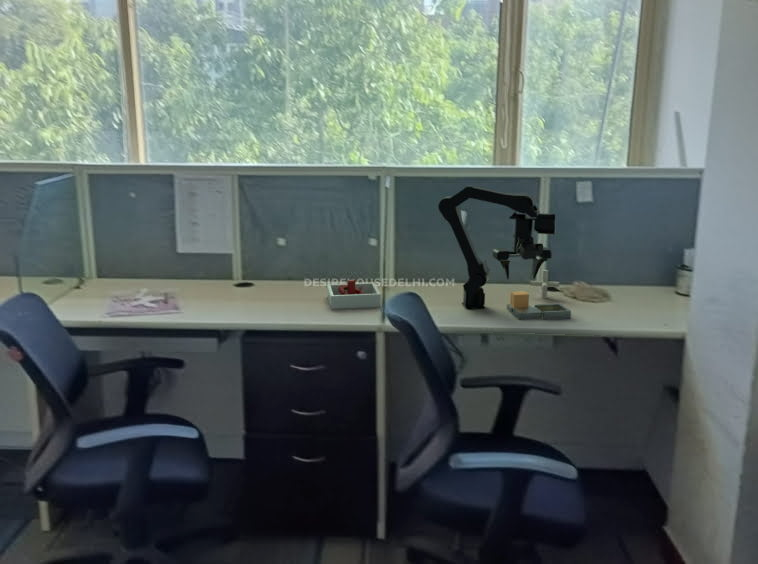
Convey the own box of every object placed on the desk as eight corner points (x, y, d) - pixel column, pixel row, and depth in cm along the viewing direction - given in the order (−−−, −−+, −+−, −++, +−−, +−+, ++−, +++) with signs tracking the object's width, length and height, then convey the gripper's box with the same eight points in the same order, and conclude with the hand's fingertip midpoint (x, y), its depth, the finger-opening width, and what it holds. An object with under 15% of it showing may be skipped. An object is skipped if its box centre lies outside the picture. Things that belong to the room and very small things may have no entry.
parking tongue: (511, 312, 244) (511, 308, 244) (506, 308, 249) (506, 304, 249) (531, 311, 245) (531, 307, 245) (526, 307, 250) (526, 303, 250)
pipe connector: (558, 302, 257) (560, 274, 254) (529, 300, 259) (531, 273, 256) (557, 294, 266) (559, 267, 264) (529, 293, 268) (531, 266, 266)
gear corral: (331, 308, 249) (330, 296, 248) (327, 296, 265) (327, 284, 263) (380, 306, 252) (380, 294, 250) (374, 294, 267) (374, 282, 266)
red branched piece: (367, 307, 252) (367, 283, 250) (334, 305, 254) (333, 281, 252) (375, 298, 262) (375, 276, 260) (342, 296, 265) (342, 274, 262)
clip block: (513, 307, 245) (514, 294, 243) (510, 304, 248) (510, 291, 247) (528, 307, 245) (528, 294, 244) (524, 304, 249) (525, 291, 248)
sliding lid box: (520, 320, 236) (520, 313, 235) (511, 312, 244) (511, 305, 244) (570, 318, 238) (571, 311, 237) (560, 310, 247) (560, 303, 246)
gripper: (504, 238, 232) (501, 285, 236) (560, 236, 235) (556, 283, 239) (493, 231, 242) (490, 277, 246) (546, 230, 245) (543, 275, 249)
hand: (520, 278), depth 245 cm, fingers open, 9 cm apart
